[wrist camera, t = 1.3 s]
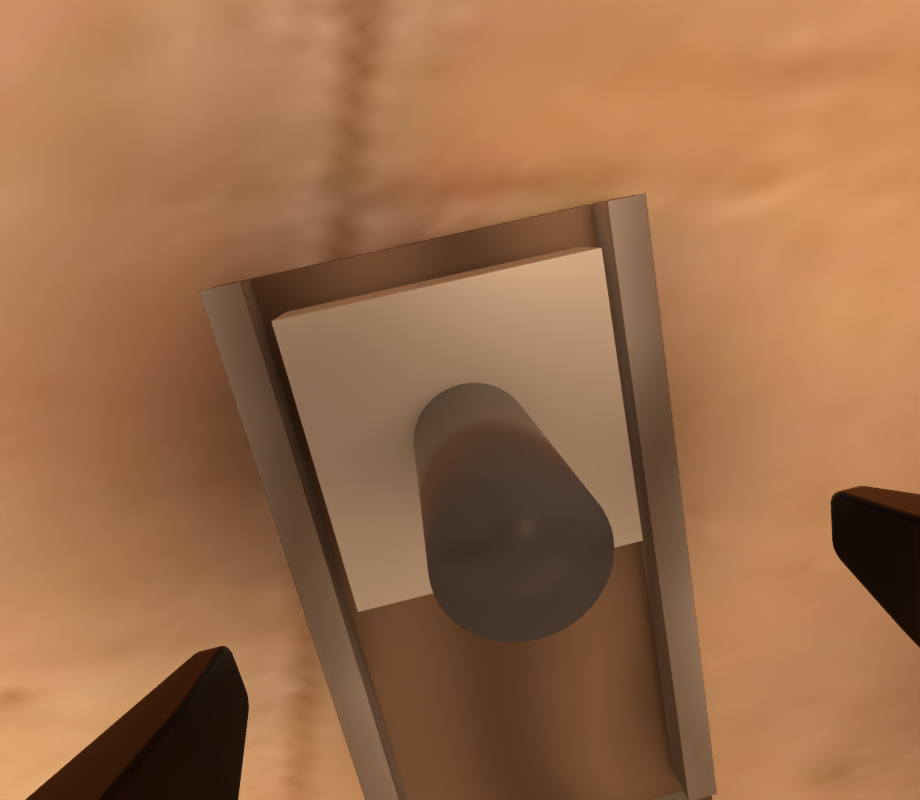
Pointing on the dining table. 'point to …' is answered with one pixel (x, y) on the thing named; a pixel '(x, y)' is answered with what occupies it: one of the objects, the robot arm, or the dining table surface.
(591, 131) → the dining table surface
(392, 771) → the track
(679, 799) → the button housing
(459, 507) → the carriage
